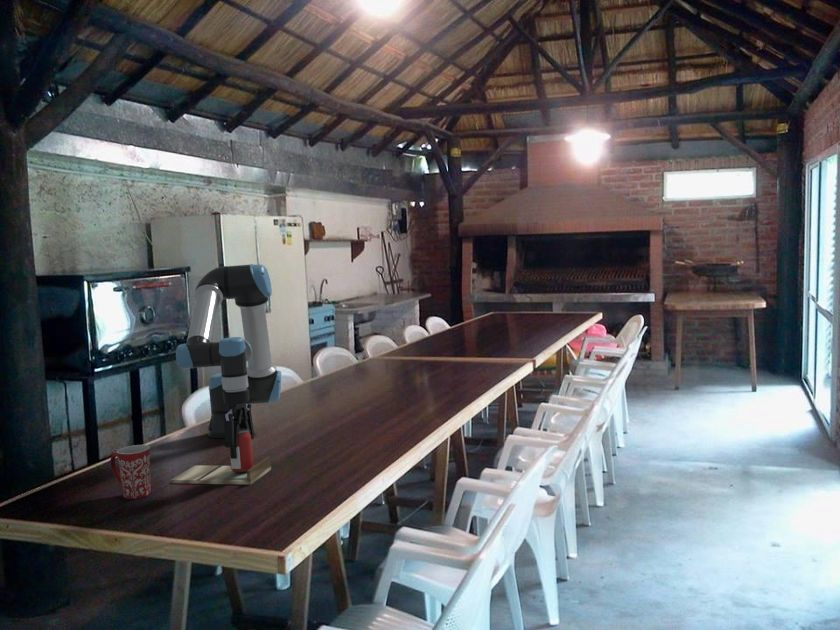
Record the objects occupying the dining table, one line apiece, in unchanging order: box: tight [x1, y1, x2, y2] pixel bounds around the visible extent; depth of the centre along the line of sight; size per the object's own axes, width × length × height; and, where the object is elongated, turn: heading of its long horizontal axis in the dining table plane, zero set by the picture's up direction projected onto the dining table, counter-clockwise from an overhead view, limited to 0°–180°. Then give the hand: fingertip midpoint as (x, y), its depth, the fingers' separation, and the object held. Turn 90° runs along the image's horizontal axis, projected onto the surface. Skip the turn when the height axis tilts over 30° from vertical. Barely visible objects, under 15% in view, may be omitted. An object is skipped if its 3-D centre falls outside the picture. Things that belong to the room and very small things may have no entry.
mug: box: [109, 444, 152, 500], centre depth 209 cm, size 13×9×14 cm
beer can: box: [228, 428, 254, 472], centre depth 220 cm, size 7×7×12 cm
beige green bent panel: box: [170, 456, 272, 486], centre depth 222 cm, size 26×14×4 cm, turn 77°
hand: (242, 464), depth 220 cm, fingers open, 7 cm apart
